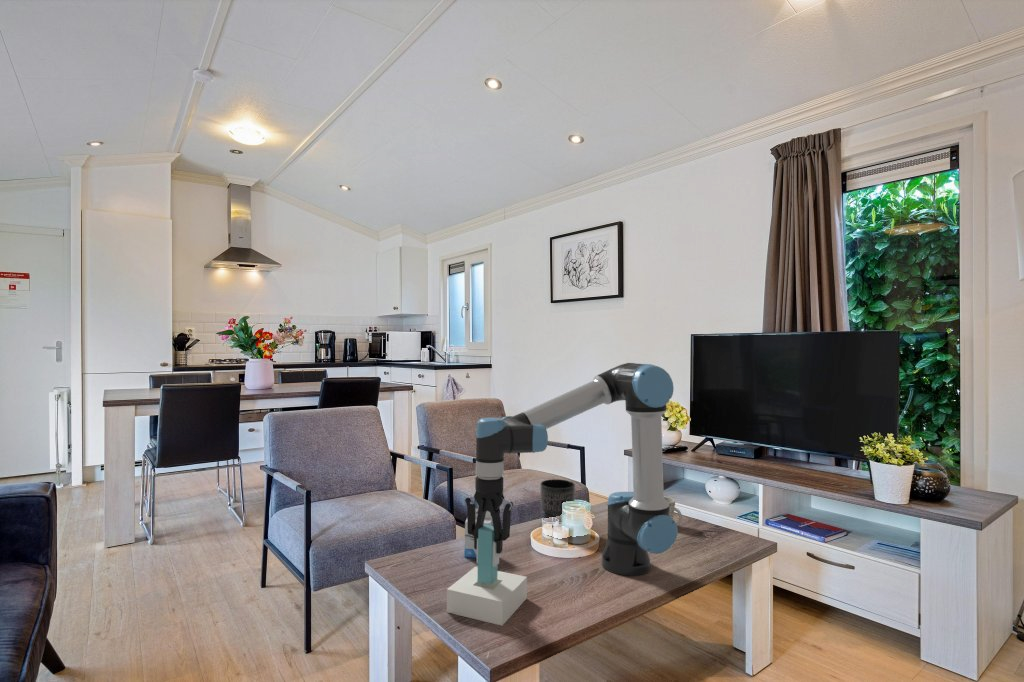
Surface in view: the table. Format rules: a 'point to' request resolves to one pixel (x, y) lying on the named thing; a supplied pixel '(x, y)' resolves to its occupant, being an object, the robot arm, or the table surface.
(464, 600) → the socket block
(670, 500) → the mug
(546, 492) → the planter
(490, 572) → the post
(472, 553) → the ink box
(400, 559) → the table surface
